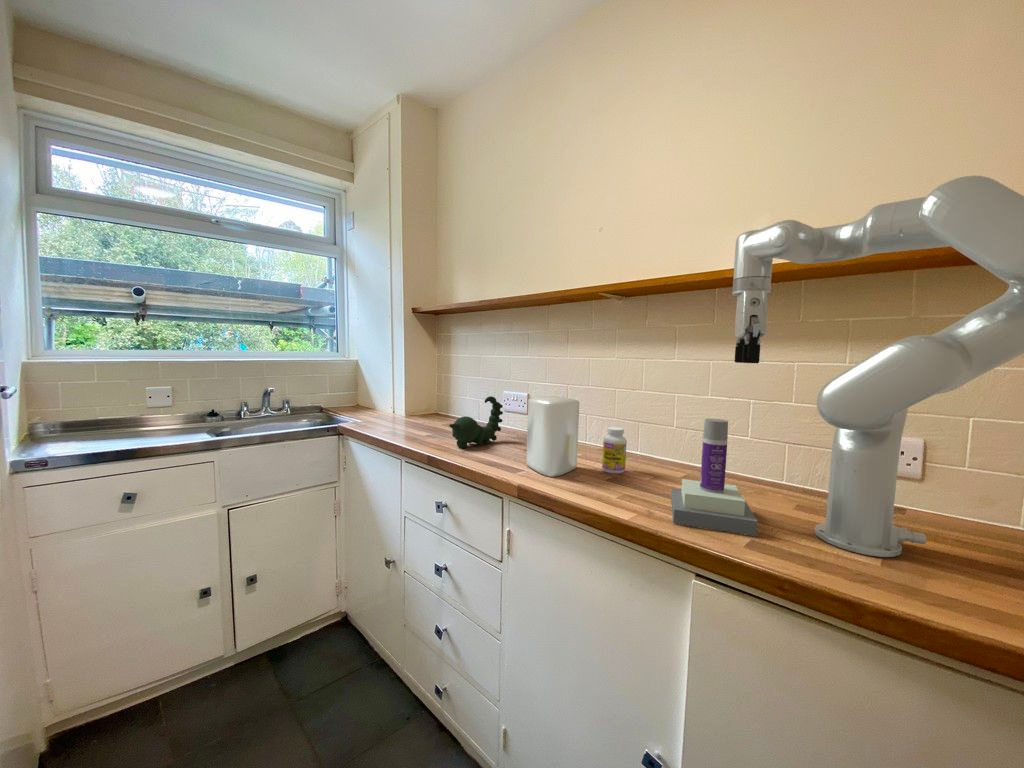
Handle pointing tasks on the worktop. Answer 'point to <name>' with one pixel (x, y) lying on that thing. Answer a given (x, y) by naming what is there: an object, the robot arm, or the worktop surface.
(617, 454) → the supplement bottle
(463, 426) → the toy figurine
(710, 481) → the container
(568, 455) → the white rounded canister
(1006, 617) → the worktop surface
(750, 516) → the tower base
